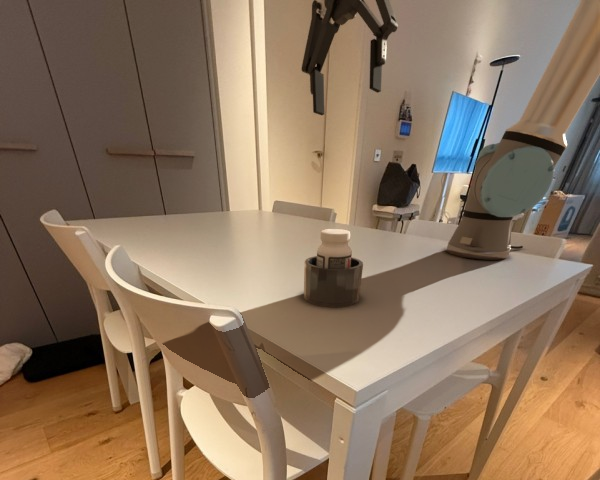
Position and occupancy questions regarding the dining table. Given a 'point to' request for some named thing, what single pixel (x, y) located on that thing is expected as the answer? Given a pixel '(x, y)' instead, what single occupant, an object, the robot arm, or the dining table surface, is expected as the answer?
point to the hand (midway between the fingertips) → (345, 102)
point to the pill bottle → (334, 249)
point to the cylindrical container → (332, 284)
